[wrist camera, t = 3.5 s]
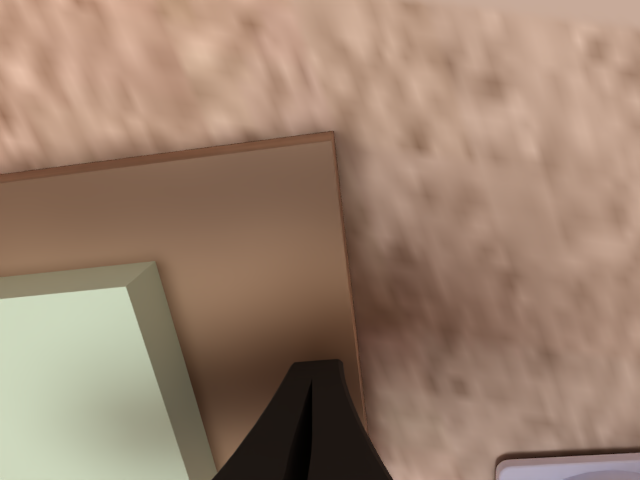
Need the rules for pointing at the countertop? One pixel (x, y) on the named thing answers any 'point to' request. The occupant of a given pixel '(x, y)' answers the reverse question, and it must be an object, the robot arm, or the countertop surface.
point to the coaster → (95, 380)
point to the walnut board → (209, 259)
